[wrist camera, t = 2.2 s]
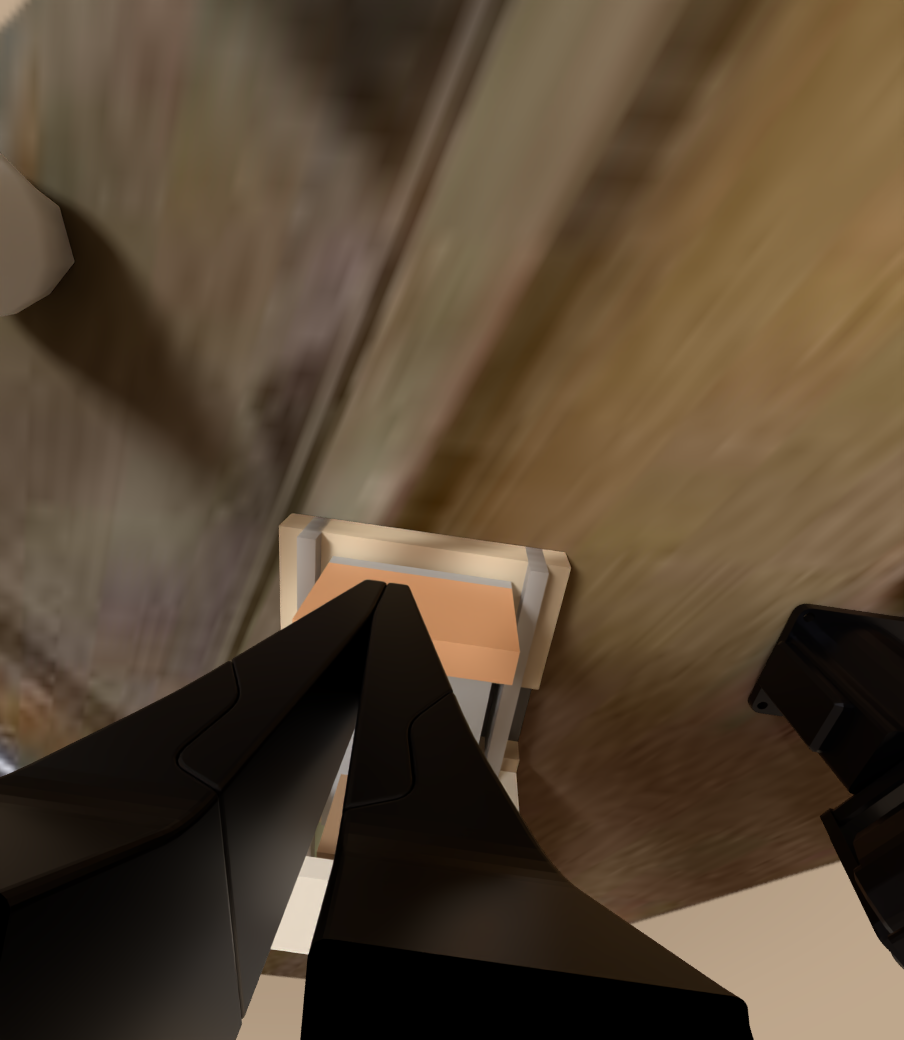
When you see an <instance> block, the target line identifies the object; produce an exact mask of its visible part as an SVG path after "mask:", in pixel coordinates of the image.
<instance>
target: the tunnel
mask: <svg viewBox="0 0 904 1040" xmlns="http://www.w3.org/2000/svg"><path fill="white" fill-rule="evenodd" d="M498 778H499V780H500V782H501V783H502V785H503V787H504V788H505V790H506V792H507V793H508V795H509V797H510V798H511V800H512V802H513V803H514V805H515V806H516V808H517V810H518V811H519V802H518V790H517V778H516V773H513V772H506V771H500V773H499V777H498ZM332 865H333V860H330V859H323V858H316V857H309V856H306V857H305V860H304V862H303V865H302V868H301V870H300V873H299V875H298V878H297V881H296V883H295V886H294V889H293V891H292V894H291V896H290V899H289V902H288V904H287V907H286V909H285V912H284V915H283V917H282V920H281V923H280V925H279V928H278V930H277V933H276V936H275V938H274V941H273V943H272V946H271V949H274V950H281V951H288V952H295V953H302V954H308V953H309V950H310V946H311V942H312V939H313V935H314V931H315V928H316V924H317V920H318V917H319V913H320V909H321V906H322V902H323V898H324V895H325V891H326V887H327V884H328V880H329V876H330V873H331V869H332Z"/></svg>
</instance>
